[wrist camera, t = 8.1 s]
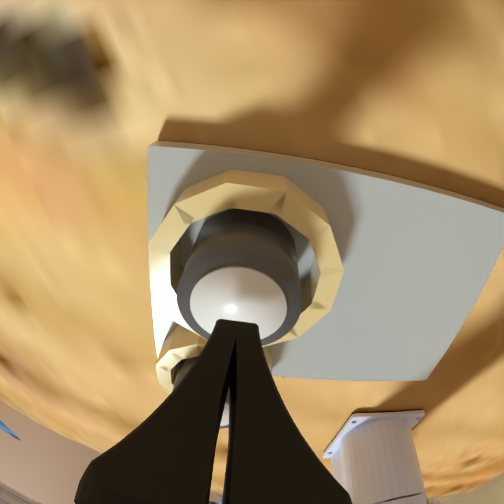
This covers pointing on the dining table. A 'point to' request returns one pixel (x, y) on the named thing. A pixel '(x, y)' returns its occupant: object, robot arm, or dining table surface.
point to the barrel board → (377, 254)
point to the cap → (242, 275)
